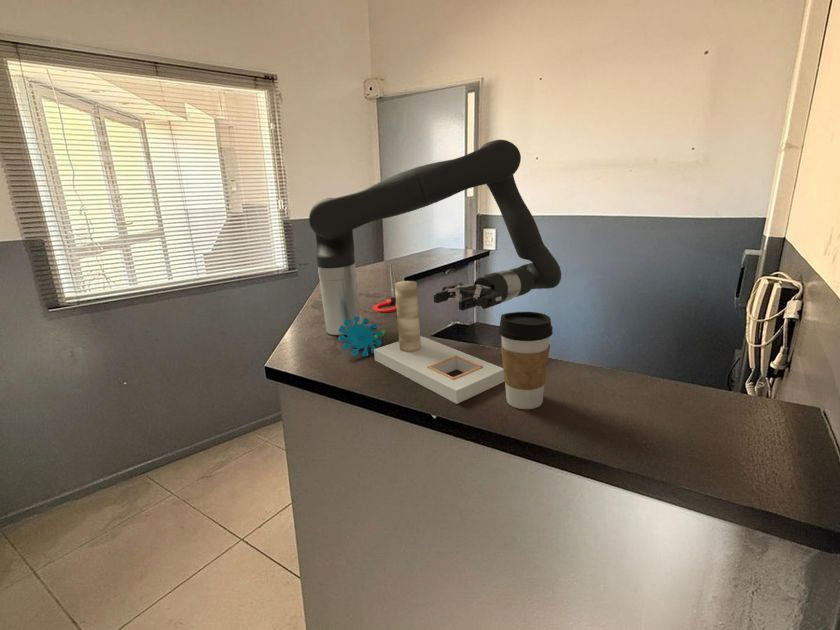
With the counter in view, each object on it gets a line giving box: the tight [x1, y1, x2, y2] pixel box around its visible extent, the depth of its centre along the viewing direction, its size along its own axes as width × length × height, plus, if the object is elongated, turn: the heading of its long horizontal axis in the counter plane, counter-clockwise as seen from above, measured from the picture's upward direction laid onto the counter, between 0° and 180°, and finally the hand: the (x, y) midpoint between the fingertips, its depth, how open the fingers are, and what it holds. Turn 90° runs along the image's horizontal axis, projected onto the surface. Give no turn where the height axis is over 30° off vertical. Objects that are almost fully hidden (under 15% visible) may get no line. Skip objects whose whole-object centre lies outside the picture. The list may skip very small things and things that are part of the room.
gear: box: [338, 316, 386, 358], centre depth 99 cm, size 11×6×10 cm
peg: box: [395, 280, 421, 352], centre depth 90 cm, size 4×4×14 cm
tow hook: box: [372, 263, 397, 314], centre depth 128 cm, size 8×13×9 cm
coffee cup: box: [498, 311, 553, 410], centre depth 71 cm, size 8×8×15 cm
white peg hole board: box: [373, 335, 505, 405], centre depth 87 cm, size 26×12×3 cm, turn 38°
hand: (446, 302), depth 96 cm, fingers open, 8 cm apart
